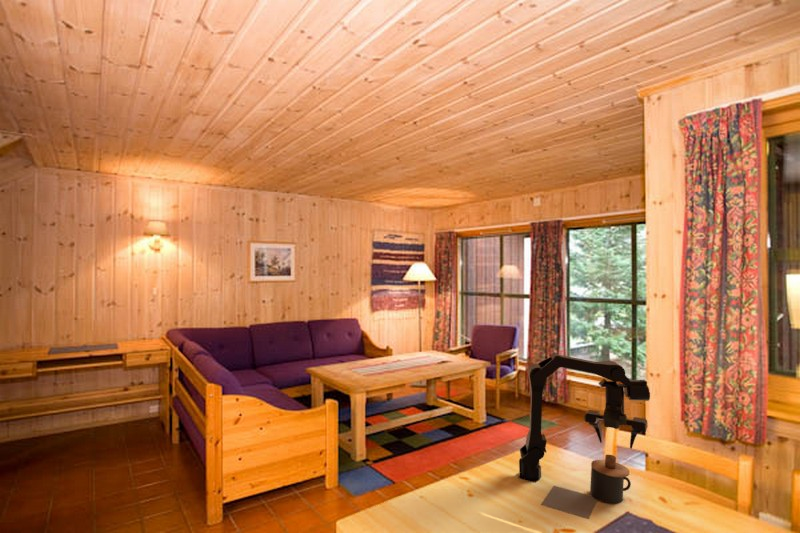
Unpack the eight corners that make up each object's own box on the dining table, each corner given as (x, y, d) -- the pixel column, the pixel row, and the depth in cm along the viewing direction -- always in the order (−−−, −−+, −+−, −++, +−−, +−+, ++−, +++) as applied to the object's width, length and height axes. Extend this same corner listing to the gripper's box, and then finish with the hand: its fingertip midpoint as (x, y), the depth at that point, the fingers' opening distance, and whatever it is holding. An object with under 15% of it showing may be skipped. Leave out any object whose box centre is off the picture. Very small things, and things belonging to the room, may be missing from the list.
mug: (636, 506, 135) (637, 477, 135) (596, 502, 136) (597, 473, 136) (623, 491, 144) (625, 464, 144) (586, 488, 145) (587, 460, 145)
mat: (540, 506, 136) (540, 504, 136) (553, 487, 147) (553, 485, 147) (588, 520, 128) (588, 518, 128) (598, 499, 139) (598, 497, 139)
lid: (587, 469, 138) (588, 457, 138) (595, 458, 147) (595, 446, 147) (626, 480, 132) (627, 467, 132) (631, 468, 141) (632, 456, 141)
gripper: (580, 401, 148) (581, 447, 148) (642, 411, 137) (644, 460, 137) (587, 393, 157) (588, 436, 157) (647, 401, 146) (648, 448, 146)
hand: (615, 445), depth 149 cm, fingers open, 9 cm apart
